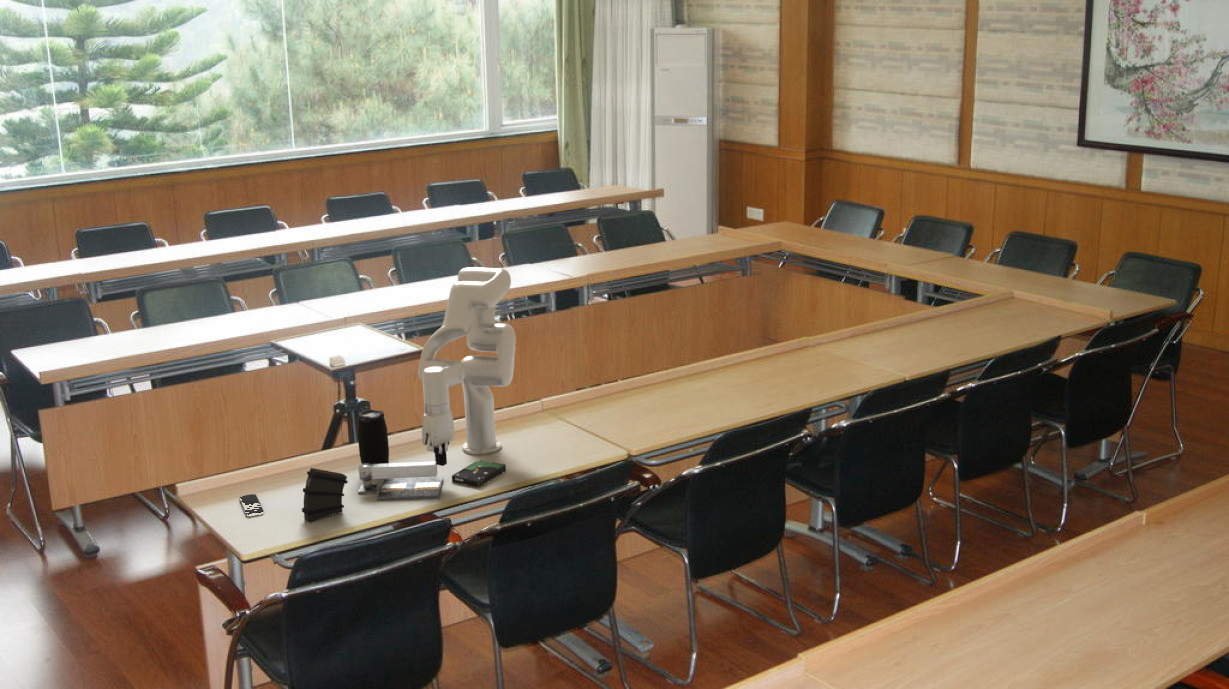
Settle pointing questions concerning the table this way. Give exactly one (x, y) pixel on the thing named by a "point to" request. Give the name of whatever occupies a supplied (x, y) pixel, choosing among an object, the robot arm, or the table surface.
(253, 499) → the remote control
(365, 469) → the bar
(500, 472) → the disk drive
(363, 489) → the pivot post
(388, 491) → the psu panel
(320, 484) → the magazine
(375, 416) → the portable speaker
